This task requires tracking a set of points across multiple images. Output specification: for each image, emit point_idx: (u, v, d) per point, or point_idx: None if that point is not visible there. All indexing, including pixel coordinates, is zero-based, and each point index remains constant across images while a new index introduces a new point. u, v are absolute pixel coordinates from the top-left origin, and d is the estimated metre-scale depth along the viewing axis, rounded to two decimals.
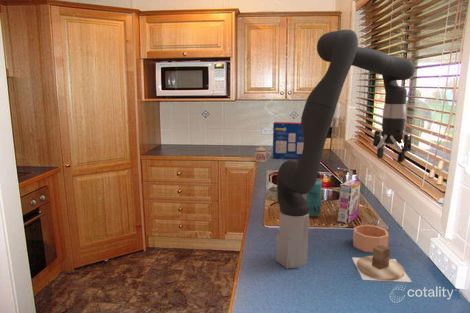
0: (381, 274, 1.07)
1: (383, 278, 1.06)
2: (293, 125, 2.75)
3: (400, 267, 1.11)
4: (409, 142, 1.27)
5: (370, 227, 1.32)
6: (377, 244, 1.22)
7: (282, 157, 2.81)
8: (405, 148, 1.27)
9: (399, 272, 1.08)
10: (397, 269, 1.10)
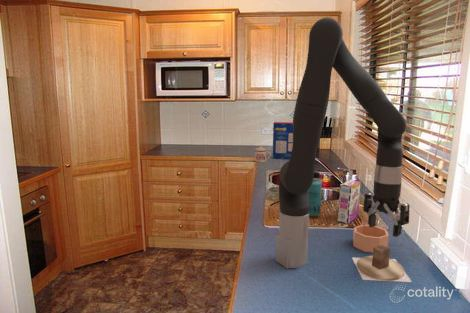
0: (381, 274, 1.07)
1: (383, 278, 1.06)
2: None
3: (400, 267, 1.11)
4: (407, 214, 1.03)
5: (370, 227, 1.32)
6: (377, 244, 1.22)
7: (282, 157, 2.81)
8: (402, 221, 1.03)
9: (399, 272, 1.08)
10: (397, 269, 1.10)
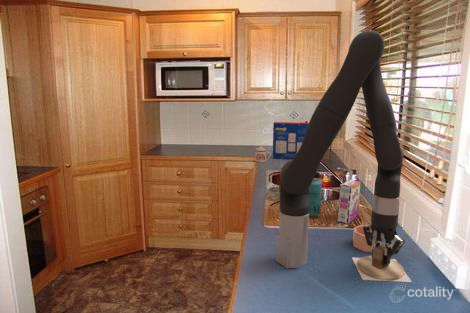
0: (381, 274, 1.07)
1: (383, 278, 1.06)
2: (293, 125, 2.75)
3: (400, 267, 1.11)
4: (399, 248, 1.06)
5: None
6: None
7: (282, 157, 2.81)
8: (391, 253, 1.07)
9: (399, 272, 1.08)
10: (397, 269, 1.10)
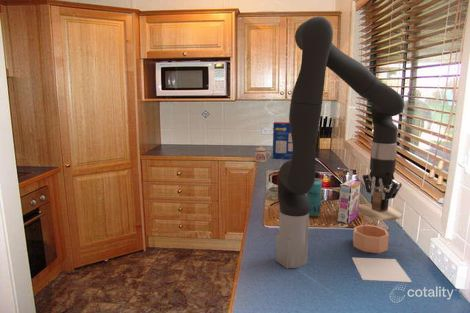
0: (380, 215, 1.13)
1: (382, 218, 1.12)
2: None
3: (399, 211, 1.17)
4: (396, 191, 1.12)
5: (370, 227, 1.32)
6: (377, 244, 1.22)
7: (282, 157, 2.81)
8: (389, 196, 1.13)
9: (398, 214, 1.14)
10: (396, 212, 1.16)
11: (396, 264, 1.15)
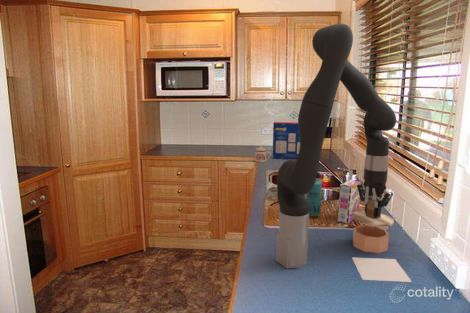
0: (374, 221, 1.22)
1: (375, 224, 1.21)
2: (293, 125, 2.75)
3: (390, 218, 1.26)
4: (388, 200, 1.21)
5: (370, 227, 1.32)
6: (377, 244, 1.22)
7: (282, 157, 2.81)
8: (381, 204, 1.21)
9: (390, 221, 1.23)
10: (388, 219, 1.25)
11: (396, 264, 1.15)
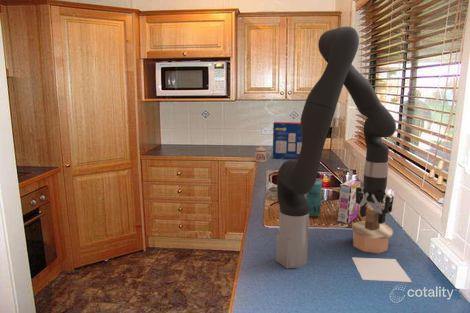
0: (372, 234, 1.23)
1: (374, 237, 1.21)
2: (293, 125, 2.75)
3: (389, 229, 1.27)
4: (390, 204, 1.20)
5: None
6: (377, 244, 1.22)
7: (282, 157, 2.81)
8: (386, 210, 1.20)
9: (388, 232, 1.24)
10: (387, 230, 1.26)
11: (396, 264, 1.15)
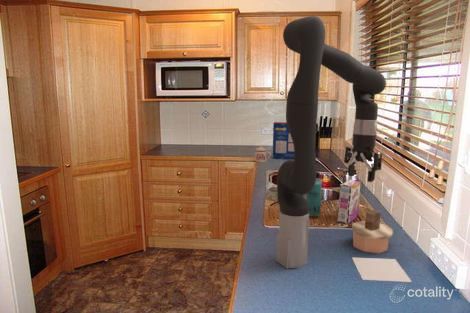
0: (372, 234, 1.23)
1: (374, 237, 1.21)
2: None
3: (389, 229, 1.27)
4: (379, 161, 1.19)
5: None
6: (377, 244, 1.22)
7: (282, 157, 2.81)
8: (375, 167, 1.19)
9: (388, 232, 1.24)
10: (387, 230, 1.26)
11: (396, 264, 1.15)
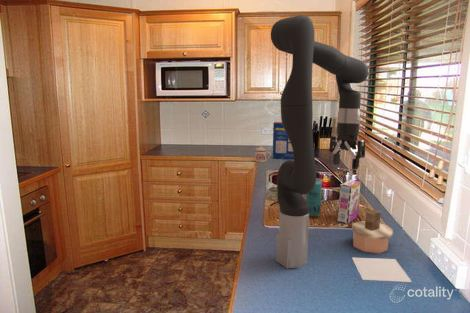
0: (372, 234, 1.23)
1: (374, 237, 1.21)
2: None
3: (389, 229, 1.27)
4: (363, 149, 1.21)
5: None
6: (377, 244, 1.22)
7: (282, 157, 2.81)
8: (359, 154, 1.21)
9: (388, 232, 1.24)
10: (387, 230, 1.26)
11: (396, 264, 1.15)
